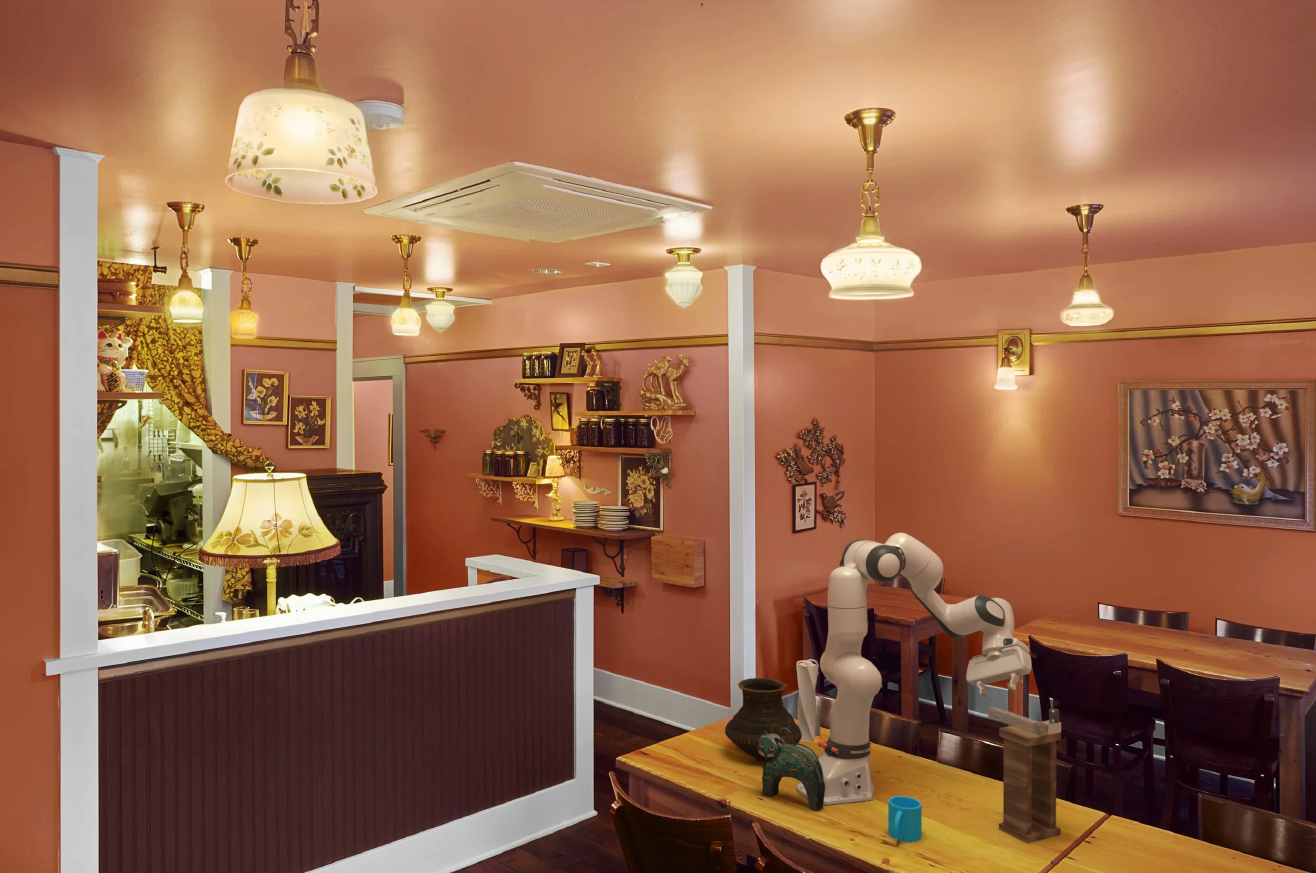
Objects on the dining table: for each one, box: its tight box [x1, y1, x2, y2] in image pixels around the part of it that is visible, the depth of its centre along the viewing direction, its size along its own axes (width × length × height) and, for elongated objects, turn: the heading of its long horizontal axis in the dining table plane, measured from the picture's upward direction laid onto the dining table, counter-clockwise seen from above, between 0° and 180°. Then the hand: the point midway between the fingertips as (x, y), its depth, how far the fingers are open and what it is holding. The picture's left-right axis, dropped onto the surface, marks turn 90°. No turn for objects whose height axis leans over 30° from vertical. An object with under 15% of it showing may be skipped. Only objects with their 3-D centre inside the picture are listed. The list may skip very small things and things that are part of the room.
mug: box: [887, 795, 923, 843], centre depth 220 cm, size 12×8×8 cm
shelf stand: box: [998, 725, 1062, 844], centre depth 224 cm, size 12×9×26 cm
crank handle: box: [987, 706, 1062, 736], centre depth 229 cm, size 17×7×6 cm, turn 26°
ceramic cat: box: [757, 727, 825, 812], centre depth 242 cm, size 20×6×20 cm, turn 50°
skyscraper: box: [796, 658, 821, 742], centre depth 293 cm, size 8×8×28 cm
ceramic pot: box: [724, 677, 802, 760], centre depth 278 cm, size 24×24×22 cm
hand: (997, 692), depth 251 cm, fingers open, 8 cm apart
